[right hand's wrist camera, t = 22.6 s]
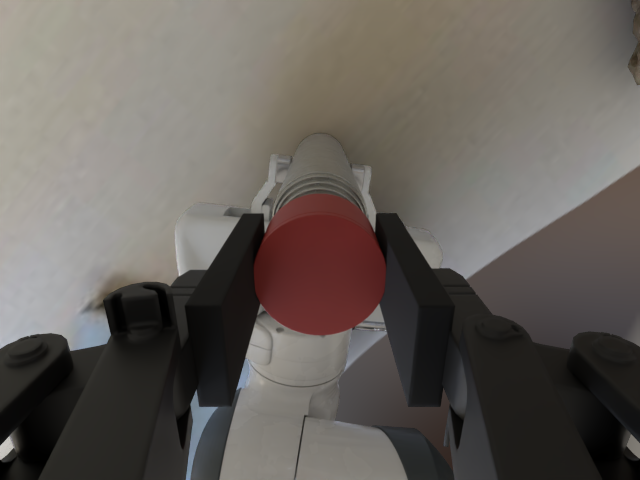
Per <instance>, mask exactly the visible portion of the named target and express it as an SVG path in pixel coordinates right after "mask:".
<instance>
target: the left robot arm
mask: <svg viewBox="0 0 640 480" xmlns="http://www.w3.org/2000/svg"><path fill="white" fill-rule="evenodd" d="M291 162H292V156H286V155H279V154H272V155H271V157H270V163H269V177H268V179H267V181H266V182H265V184H264V185H263V186H262V188H261V189H260V191H259V192H258V193H257V195H256V196H255V198H254V199H253V201H252V203H251V208H243V207H235V206H226V205H218V204H209V203H200V202H199V203H196V204H194V205H193V206H191V207H190V208H189V209H187V210H186V211H185V212H184V213H183V214H182V215H181V216H180V217H179V219H178V220H177V222H176V225H175V250H176V260H177V268H178V274H179V276H181V275H182V274H184V273H186V272H187V271H189V270H208V268H209V266H210V265H211V263H212V262H213V260H214V259H215V257H216V255H217V254H218V252H219V251H220V249H221V248H222V246H223V244H224V243H225V241H226V240H227V238H228V237H229V235H230V233H231V232H232V230H233V229H234V227H235V226H236V224H237V223H238V221H239V219H240V218H241V216H242V215H243V213H264V226H265V232H266V229H267V227H268V224H269V223H270V221H271V219H272V212H273V211H272V209H273V199H272V198H267V196H268V195H269V194H270V192H271V191H272V189H273V188H274V187H275V185H276V184H277V183H283V181H284V179H285V176H286V174H287V171H288V169H289V167H290V164H291ZM350 167H351V169H352V172H353V174H354V176H355V179H356V181H357V184H358V186H359V188H360V191H361V193H362V196H363V198H364V200H365V203H366V207H367V213H368V219H369V221H370V223H371V225H372V227H373V230H374V232H375V222H376V213H377V212H376V209H375V206H374V204H373V201H372V198H371V196H370V193H369V186H370V180H371V174H372V168H371V167H370V166H367V165H359V164H350ZM405 228H406V229H407V231H408V232H409V234H410V235H411V237H412V239H413V240H414V242H415V243H416V245H417V246H418V248H419V250H420V251H421V253H422V254H423V256H424V257H425V259H426V261H427V262H428V264H429V265H430V267H431V268H440V266H441V263H442V260H443V252H442V249H441V247H440V245H439V243H438V242H437V240H436V239H435V238H434V236H433V235H432V234H431V233H430V232H429V231H428V230H426V229H421V228H412V227H405ZM353 329H357V330H366V331H387V330H386V326H385V323H384V319H383V315H382V312H381V308H380V305H379V304H378V306H377V307H376V309H375V310H374V311H373V313H372V314H371V315H370V316H369V317H368V318H366V319H365V320H364V321H363V322H361V323H360V324H358V325H357V326H355V327H353V328H351V329H349V330H347V331H344V332H341V333H336V334H332V335H308V334H303V333H299V332H296V331H293V330H291V329H289V328H287V327H285V326H283V325H281V324H280V323H278V322H277V321H276V320H275V319H273V318H272V317H271V316H270V315H269V314H268V313H267V312H266V311H265V309H264V308H263V306H262V305H261V304H260V307H259V311H258V315H257V318H256V322H255V325H254V329H253V332H252V336H251V339H250V343H249V347H248V350H247V354H246V357H245V358H247V359H248V362H249V367H250V373H249V375H248V378H247V380H246V384H245V388H240V389H238V390H237V391H236V393H235V396H234V400H233V403H232V407H218V408H217V409H216V410H215V412H214V413H213V414H212V416H211V417H210V419H209V420H208V422H207V424H206V426H205V428H204V430H203V432H202V435H201V437H200V440H199V443H198V446H197V449H196V452H195V456H194V461H193V466H192V472H191V480H455V479H454V473H453V471H452V469H451V468H450V466H449V465H448V463H447V462H446V460H445V459H444V458H443V456H442V455H441V454H440V453H439V451H438V450H437V449H436V448H435V447H434V446H433V445H432V444H431V443H430V441H429V440H428V439H427V438H426V437H425V436H424V435H423V434H422V433H421V432H420V431H418V430H417V429H415V428H403V427H389V426H371V427H369V426H363V425H357V424H351V423H345V422H339V421H335V419H336V415H337V410H338V405H339V398H340V391H339V385H338V381H339V379H340V377H341V375H342V374H343V372H344V369H345V366H346V361H347V356H348V350H349V345H350V340H351V333H352V330H353Z"/></svg>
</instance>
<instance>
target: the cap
mask: <svg viewBox="0 0 640 480" xmlns="http://www.w3.org/2000/svg"><path fill="white" fill-rule="evenodd" d="M385 278H386V262H385V258H384V255H383V253H382V250H381V248H380V245H379V242H378V240H377V237H376V235H375V232H374V230H373V227H372V225H371V223H370V221H369V219H368V218H367V217H366V215H365V214H364V213H363V212H362V211H361V210H360V209H359V208H358V207H357V206H356V205H354V204H353V203H351V202H350V201H348V200H346V199H344V198H341V197H338V196H335V195H330V194H309V195H305V196H301V197H299V198H296V199H294V200H292V201H290V202H288V203H287V204H286V205H284V206H283V207H282V208H281V209H280V210H279V211H277V212H276V214H275V215H274V216H273V218H272V219H271V221H270V223H269V224H268V227H267V229H266V232H265V234H264V237H263V240H262V242H261V245H260V247H259V250H258V252H257V255H256V257H255V261H254V281H255V292H256V295H257V297H258V299H259V301H260V303H261V305H262V306H263V308H264V309H265V311H266V312H267V313H268V314H269V315H270V316H271V317H272V318H273V319H275V320H276V321H277V322H278V323H280V324H281V325H283V326H285V327H287V328H289V329H291V330H293V331H296V332H299V333H303V334H308V335H332V334H336V333H341V332H344V331H347V330H349V329H351V328H353V327H355V326H357V325H358V324H360V323H361V322H363V321H364V320H365V319H366V318H368V317H369V316H370V315H371V314H372V313H373V311H374V310H375V309H376V307H377V306H378V304H379V303H380V301H381V299H382V297H383V294H384V291H385Z"/></svg>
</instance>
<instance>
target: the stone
mask: <svg viewBox="0 0 640 480" xmlns="http://www.w3.org/2000/svg"><path fill="white" fill-rule="evenodd" d="M631 6H632V8H633V10H634V11H635V12H636V15H635V18H634V21H633V22H634V24H633V34H634V35H635V37H636V38H637V40H638V44H637V47H636V49H635V51H634V53H633V55H632V57H631V59H630V61H629V64H628V68H629V70H630V72H631V73H632V74H633V76H634V79H635V82H636V84H637V85H640V0H631Z"/></svg>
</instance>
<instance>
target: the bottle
mask: <svg viewBox="0 0 640 480" xmlns="http://www.w3.org/2000/svg"><path fill="white" fill-rule="evenodd" d="M309 194H330V195H335V196H338V197H341V198H344V199H346V200H348V201H350V202H351V203H353V204H354V205H356V206H357V207H358V208H359V209H360V210H361V211H362V212H363V213H364V214H365V215H366V217H367V218H368V213H367V207H366V203H365V200H364V198H363V196H362V193H361V191H360V188H359V186H358V184H357V181H356V179H355V176H354V174H353V172H352V169H351V167H350V164H349V162H348V160H347V157H346V155H345V152H344V150H343V148H342V146H341V144H340V143H339V142H338V141H337V140H336V139H335V138H334V137H332V136H330V135H328V134H324V133H316V134H312V135H310V136H308V137H306V138H305V139H304V140H302V142H301V143H300V144H299V146H298V148H297V150H296V152H295V155H294V157H293V159H292V162H291V164H290V167H289V169H288V171H287V174H286V176H285V179H284V181H283V183H282V186H281V188H280V191H279V193H278V195H277V198H276V200H275V203H274V206H273V212H272V218H273V216H274V215H275V214H276V212H277V211H279V210H280V209H281V208H282V207H283V206H284V205H286V204H287V203H288V202H290V201H292V200H294V199H296V198H299V197H301V196H305V195H309Z"/></svg>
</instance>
